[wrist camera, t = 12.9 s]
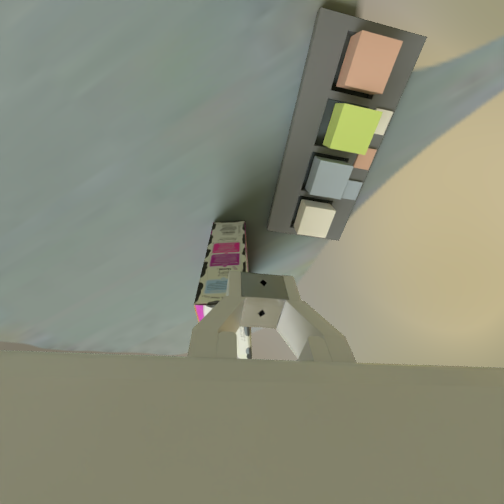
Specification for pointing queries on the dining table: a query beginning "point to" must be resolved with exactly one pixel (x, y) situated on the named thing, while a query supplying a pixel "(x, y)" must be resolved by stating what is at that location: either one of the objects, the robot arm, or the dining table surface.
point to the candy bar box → (224, 274)
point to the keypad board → (312, 109)
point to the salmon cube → (368, 62)
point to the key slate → (328, 177)
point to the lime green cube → (351, 128)
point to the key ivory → (314, 218)
